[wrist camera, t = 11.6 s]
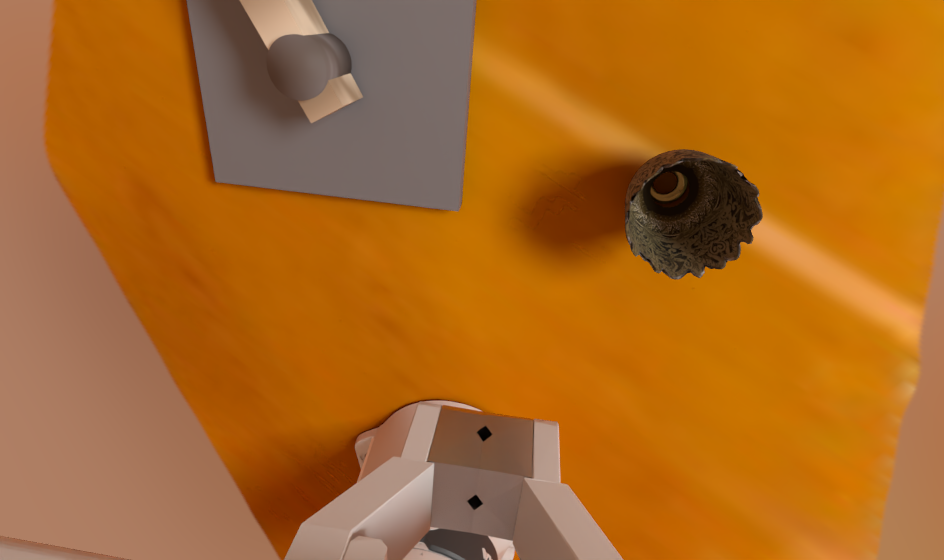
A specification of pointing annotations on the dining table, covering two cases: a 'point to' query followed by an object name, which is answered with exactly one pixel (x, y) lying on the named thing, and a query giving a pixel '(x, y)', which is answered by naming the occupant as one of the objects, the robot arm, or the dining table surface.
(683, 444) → the dining table surface
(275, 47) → the long tan beam
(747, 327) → the dining table surface
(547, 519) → the robot arm
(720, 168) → the cup
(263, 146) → the dial board
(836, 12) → the dining table surface
